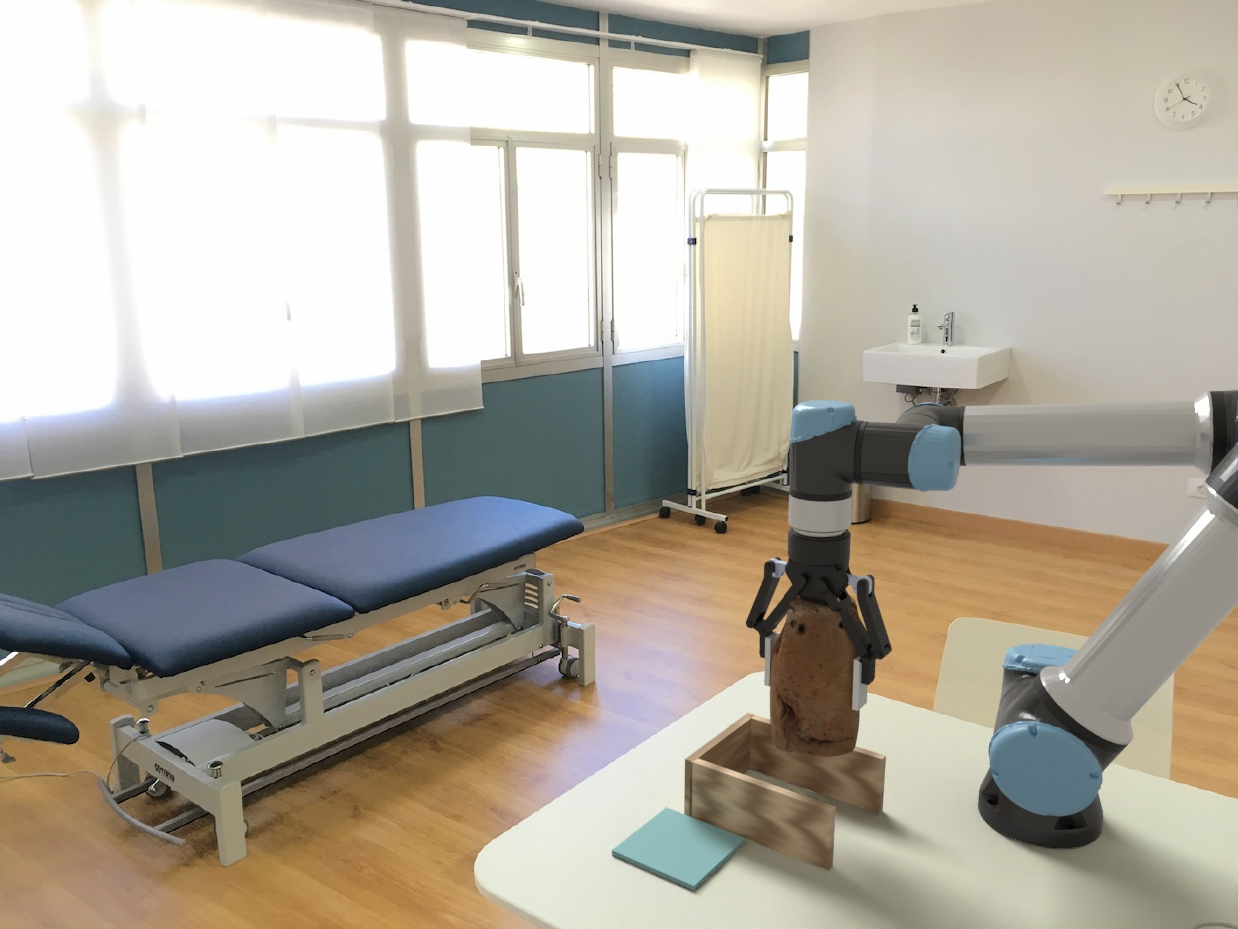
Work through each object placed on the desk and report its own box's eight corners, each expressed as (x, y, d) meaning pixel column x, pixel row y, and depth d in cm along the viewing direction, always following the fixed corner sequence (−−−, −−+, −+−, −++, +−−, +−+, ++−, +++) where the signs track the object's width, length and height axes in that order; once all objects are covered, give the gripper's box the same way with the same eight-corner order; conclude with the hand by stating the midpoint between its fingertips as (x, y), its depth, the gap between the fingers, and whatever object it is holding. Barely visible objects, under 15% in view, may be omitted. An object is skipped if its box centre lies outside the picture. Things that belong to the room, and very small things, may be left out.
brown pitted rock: (850, 733, 136) (855, 588, 131) (860, 761, 128) (866, 609, 124) (767, 732, 136) (769, 588, 132) (772, 760, 129) (775, 609, 124)
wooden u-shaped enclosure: (882, 810, 137) (886, 755, 135) (828, 871, 124) (831, 811, 122) (746, 763, 149) (747, 712, 147) (684, 814, 136) (684, 759, 135)
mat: (745, 842, 130) (745, 838, 130) (693, 890, 121) (693, 886, 121) (666, 811, 137) (666, 807, 137) (611, 854, 128) (611, 850, 128)
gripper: (925, 536, 122) (916, 707, 127) (749, 507, 136) (747, 662, 140) (901, 552, 116) (892, 730, 121) (719, 520, 130) (718, 681, 135)
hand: (814, 694), depth 131 cm, fingers closed on brown pitted rock, 11 cm apart
